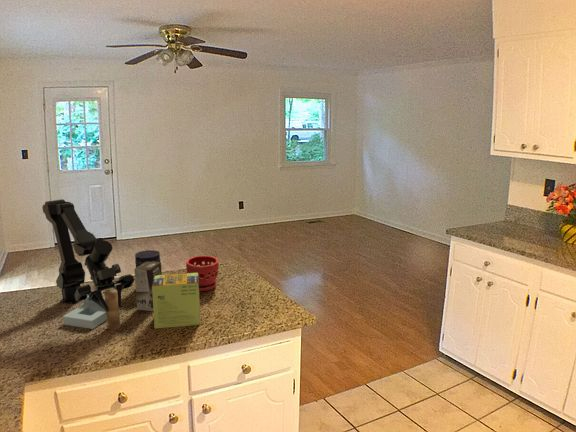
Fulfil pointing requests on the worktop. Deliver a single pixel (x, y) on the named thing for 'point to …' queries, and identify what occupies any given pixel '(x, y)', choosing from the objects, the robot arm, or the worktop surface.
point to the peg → (112, 309)
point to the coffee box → (146, 284)
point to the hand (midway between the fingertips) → (114, 309)
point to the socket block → (86, 315)
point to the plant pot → (204, 271)
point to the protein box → (176, 300)
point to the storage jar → (146, 257)
